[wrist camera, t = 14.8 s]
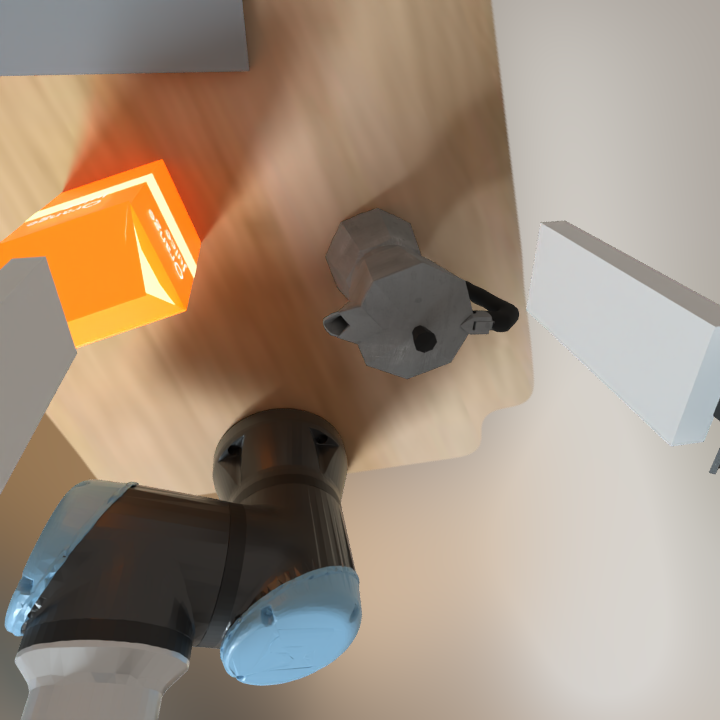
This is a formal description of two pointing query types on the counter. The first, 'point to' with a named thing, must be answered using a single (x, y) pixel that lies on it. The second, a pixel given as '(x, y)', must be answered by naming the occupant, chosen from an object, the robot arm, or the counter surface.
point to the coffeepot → (403, 298)
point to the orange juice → (114, 251)
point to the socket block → (121, 36)
